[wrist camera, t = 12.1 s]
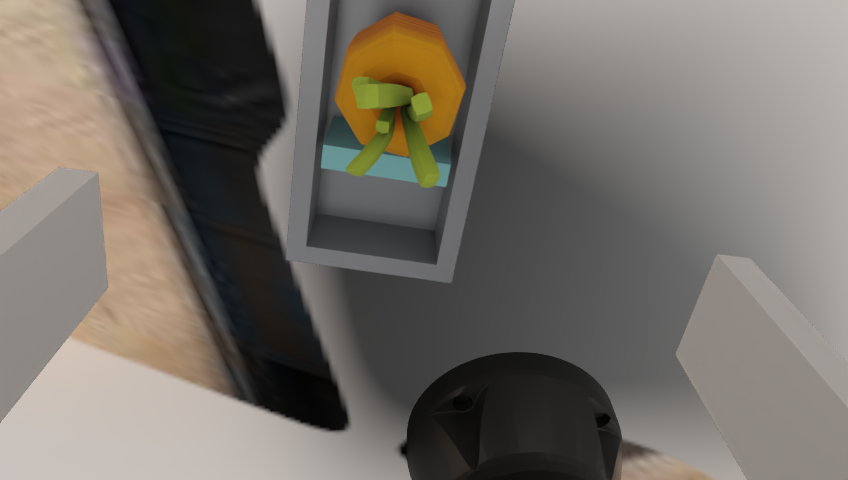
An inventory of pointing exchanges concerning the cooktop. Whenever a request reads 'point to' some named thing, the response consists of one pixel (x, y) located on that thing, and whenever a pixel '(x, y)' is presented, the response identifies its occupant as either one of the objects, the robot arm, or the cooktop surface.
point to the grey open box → (376, 196)
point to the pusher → (346, 147)
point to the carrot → (399, 93)
